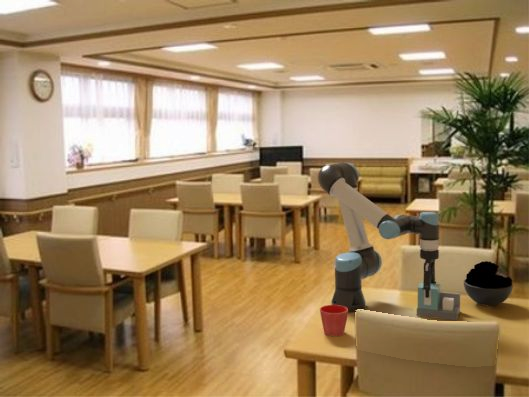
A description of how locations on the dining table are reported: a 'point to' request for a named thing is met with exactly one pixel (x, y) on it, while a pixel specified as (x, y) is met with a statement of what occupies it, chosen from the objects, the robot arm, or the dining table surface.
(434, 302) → the cover
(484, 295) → the bowl of black rocks
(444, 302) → the plain button
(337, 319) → the flower pot
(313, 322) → the dining table surface
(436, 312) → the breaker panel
